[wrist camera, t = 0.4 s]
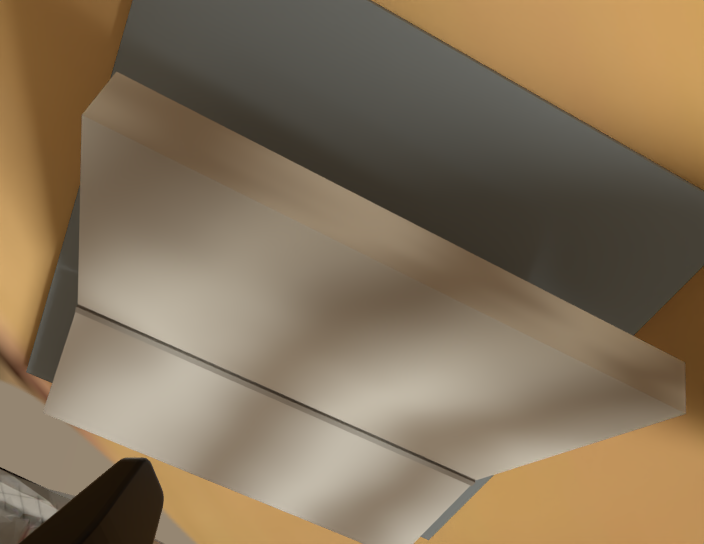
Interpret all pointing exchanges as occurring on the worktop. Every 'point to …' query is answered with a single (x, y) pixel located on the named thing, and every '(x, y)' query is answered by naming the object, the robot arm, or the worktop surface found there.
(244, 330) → the loose plank
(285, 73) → the underlay mat
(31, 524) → the packaged product
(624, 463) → the worktop surface
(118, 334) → the grey flat block
